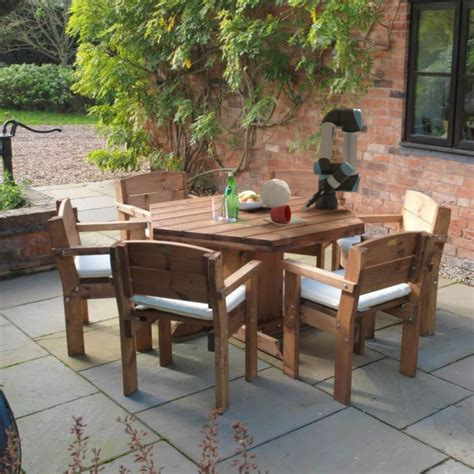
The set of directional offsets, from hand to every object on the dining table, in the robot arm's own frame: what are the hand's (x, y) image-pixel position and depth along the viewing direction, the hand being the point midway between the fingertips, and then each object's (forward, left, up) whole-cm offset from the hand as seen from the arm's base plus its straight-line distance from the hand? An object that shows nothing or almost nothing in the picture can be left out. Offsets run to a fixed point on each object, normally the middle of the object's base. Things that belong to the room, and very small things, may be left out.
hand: (304, 207), depth 431 cm
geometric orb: (-5, -39, -9) cm, 41 cm away
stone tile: (+8, -7, -9) cm, 14 cm away
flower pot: (+17, -8, -4) cm, 20 cm away
